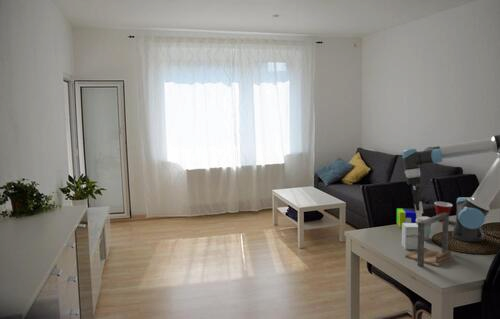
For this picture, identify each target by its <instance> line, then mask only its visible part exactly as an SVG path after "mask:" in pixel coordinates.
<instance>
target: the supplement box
mask: <svg viewBox="0 0 500 319" xmlns="http://www.w3.org/2000/svg"><path fill="white" fill-rule="evenodd" d="M401 246H402V247H403V249H404V250H417V249H418V225H417V224H416V223H402V228H401Z"/></svg>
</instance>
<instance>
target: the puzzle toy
mask: <svg viewBox="0 0 500 319" xmlns="http://www.w3.org/2000/svg"><path fill="white" fill-rule="evenodd" d="M416 218H417V217H416V211H415V208H399V207H398V208H396V225H397V226H398V228H399V227H400V228H399V229H402V223H416Z"/></svg>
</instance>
